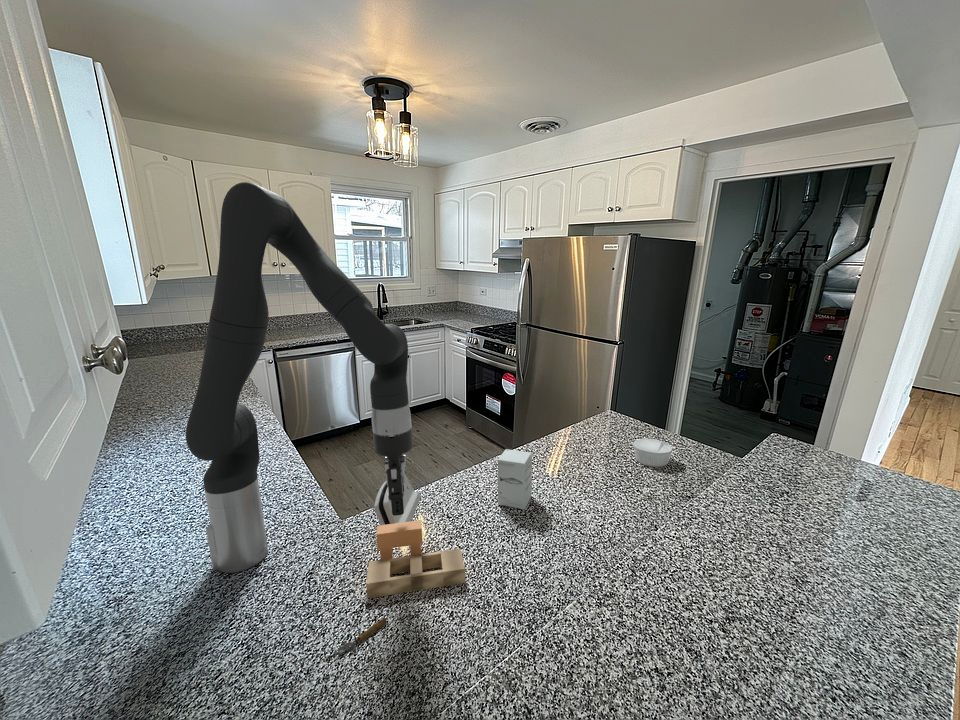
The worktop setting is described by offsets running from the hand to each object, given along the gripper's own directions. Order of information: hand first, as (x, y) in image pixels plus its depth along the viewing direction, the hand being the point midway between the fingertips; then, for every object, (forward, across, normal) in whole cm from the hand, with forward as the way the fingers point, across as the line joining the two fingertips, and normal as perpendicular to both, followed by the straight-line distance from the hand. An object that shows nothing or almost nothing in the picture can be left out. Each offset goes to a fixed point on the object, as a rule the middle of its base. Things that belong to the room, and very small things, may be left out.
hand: (398, 502), depth 80 cm
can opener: (+13, +18, -6) cm, 23 cm away
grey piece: (+13, -16, -1) cm, 21 cm away
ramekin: (+14, -29, +77) cm, 83 cm away
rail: (+12, +7, +3) cm, 15 cm away
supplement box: (+13, -16, +29) cm, 35 cm away
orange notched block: (+12, 0, 0) cm, 12 cm away
